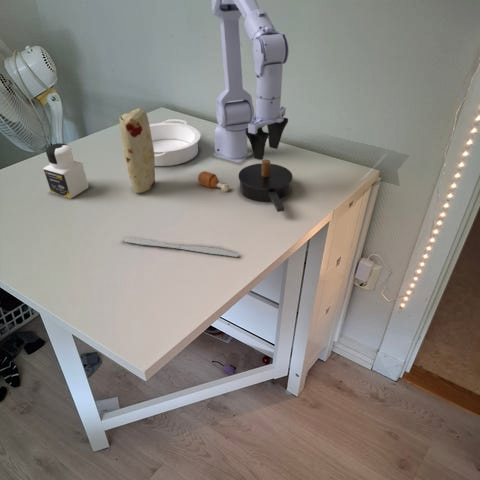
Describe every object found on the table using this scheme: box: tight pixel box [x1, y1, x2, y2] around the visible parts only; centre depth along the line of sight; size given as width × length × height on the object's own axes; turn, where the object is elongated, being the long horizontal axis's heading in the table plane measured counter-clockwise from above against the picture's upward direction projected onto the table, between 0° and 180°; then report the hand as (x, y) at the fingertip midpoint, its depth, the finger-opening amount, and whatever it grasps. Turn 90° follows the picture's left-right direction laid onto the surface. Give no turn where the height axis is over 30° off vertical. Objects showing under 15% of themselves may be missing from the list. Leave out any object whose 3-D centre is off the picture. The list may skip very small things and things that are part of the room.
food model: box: [118, 107, 156, 194], centre depth 112 cm, size 10×7×20 cm
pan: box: [239, 181, 291, 203], centre depth 116 cm, size 13×13×4 cm
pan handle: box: [268, 190, 286, 213], centre depth 108 cm, size 9×2×1 cm, turn 12°
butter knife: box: [123, 237, 240, 258], centre depth 99 cm, size 1×27×3 cm
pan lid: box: [238, 159, 294, 190], centre depth 114 cm, size 14×14×5 cm
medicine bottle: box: [43, 142, 89, 200], centre depth 114 cm, size 7×7×12 cm
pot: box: [149, 118, 201, 167], centre depth 134 cm, size 29×22×5 cm
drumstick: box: [197, 171, 230, 193], centre depth 118 cm, size 10×4×4 cm, turn 57°
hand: (266, 153), depth 110 cm, fingers open, 7 cm apart
